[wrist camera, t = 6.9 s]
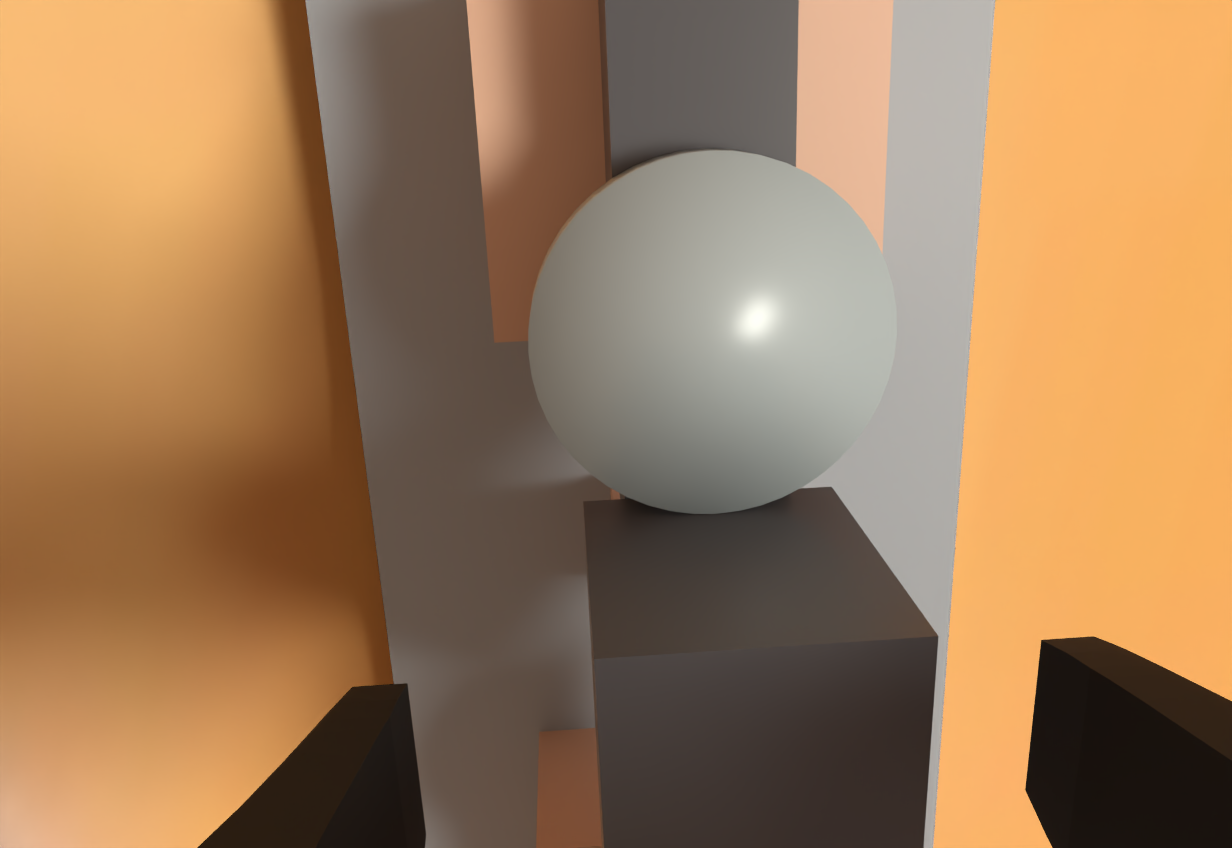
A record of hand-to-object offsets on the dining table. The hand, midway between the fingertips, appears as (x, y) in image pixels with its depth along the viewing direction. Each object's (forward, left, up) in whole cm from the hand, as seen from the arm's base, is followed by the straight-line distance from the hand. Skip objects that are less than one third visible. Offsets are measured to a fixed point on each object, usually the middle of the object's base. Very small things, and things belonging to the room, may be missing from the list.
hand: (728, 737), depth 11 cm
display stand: (0, 0, -7) cm, 7 cm away
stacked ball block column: (0, 0, -3) cm, 3 cm away
